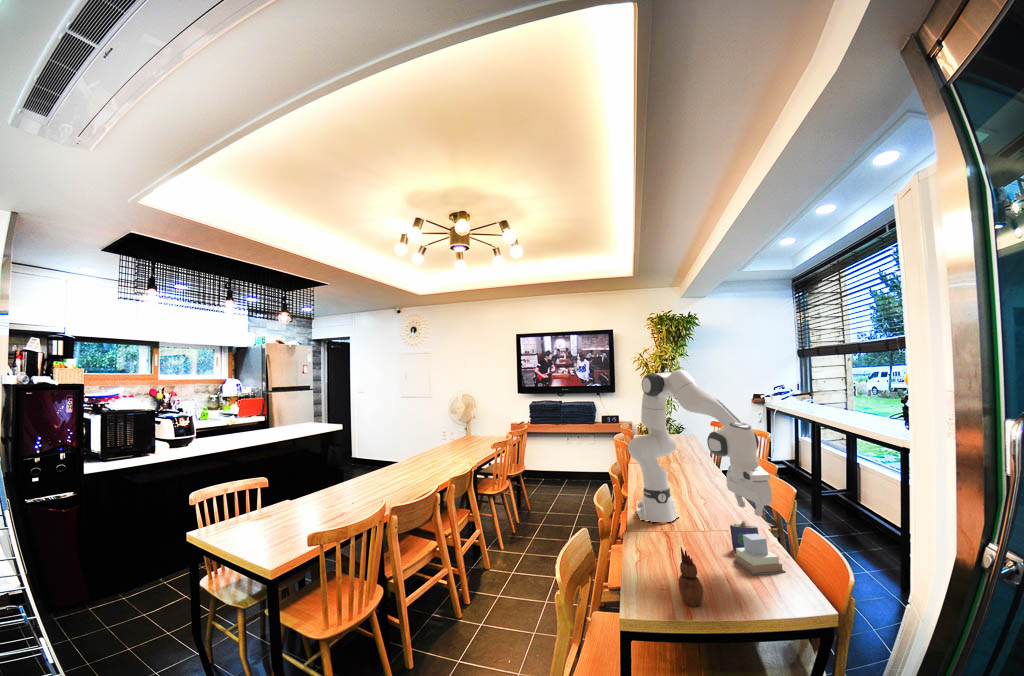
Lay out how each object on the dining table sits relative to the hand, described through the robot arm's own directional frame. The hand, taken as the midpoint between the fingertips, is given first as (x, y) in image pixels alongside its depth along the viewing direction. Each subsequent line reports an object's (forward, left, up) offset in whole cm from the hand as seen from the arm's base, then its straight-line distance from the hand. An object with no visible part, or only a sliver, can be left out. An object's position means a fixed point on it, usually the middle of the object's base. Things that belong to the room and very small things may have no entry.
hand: (749, 511), depth 139 cm
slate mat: (0, 0, -18) cm, 18 cm away
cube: (0, 0, -13) cm, 13 cm away
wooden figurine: (+18, -32, -18) cm, 41 cm away
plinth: (0, 0, -18) cm, 18 cm away
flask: (-12, +4, -18) cm, 22 cm away
